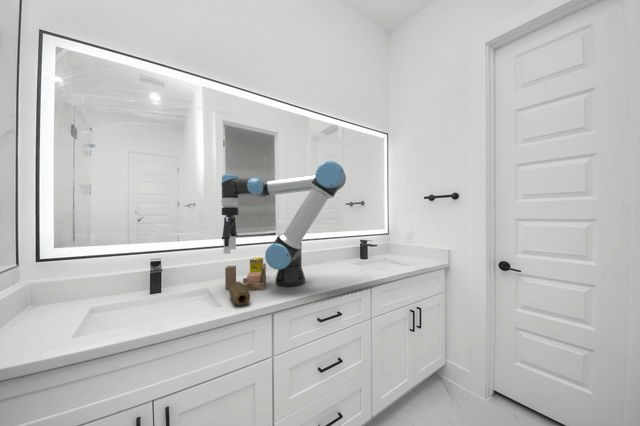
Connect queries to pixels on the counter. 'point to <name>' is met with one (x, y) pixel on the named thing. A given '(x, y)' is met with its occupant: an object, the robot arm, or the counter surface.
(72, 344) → the counter surface
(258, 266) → the supplement box
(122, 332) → the counter surface
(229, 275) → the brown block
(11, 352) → the counter surface
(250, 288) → the wooden stand
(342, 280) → the counter surface
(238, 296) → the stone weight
